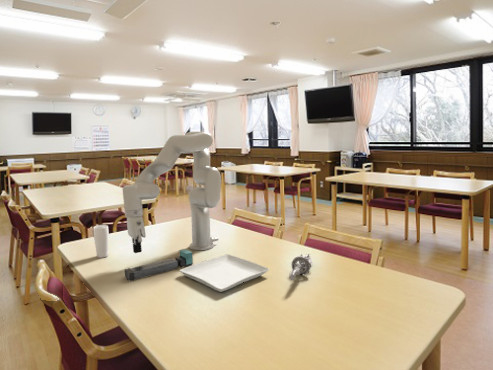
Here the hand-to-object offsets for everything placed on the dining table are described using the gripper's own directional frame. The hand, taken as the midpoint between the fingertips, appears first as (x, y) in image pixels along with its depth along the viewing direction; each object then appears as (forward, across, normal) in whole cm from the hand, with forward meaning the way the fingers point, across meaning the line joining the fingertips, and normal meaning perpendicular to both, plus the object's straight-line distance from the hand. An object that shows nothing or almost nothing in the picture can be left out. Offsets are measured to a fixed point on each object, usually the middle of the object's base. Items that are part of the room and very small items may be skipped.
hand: (137, 252), depth 157 cm
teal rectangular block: (+6, -12, -18) cm, 22 cm away
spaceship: (+8, -54, -49) cm, 73 cm away
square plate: (+8, -35, -23) cm, 43 cm away
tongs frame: (+6, -12, -5) cm, 15 cm away
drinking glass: (+6, +23, +10) cm, 25 cm away
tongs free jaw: (+6, -11, -1) cm, 12 cm away
